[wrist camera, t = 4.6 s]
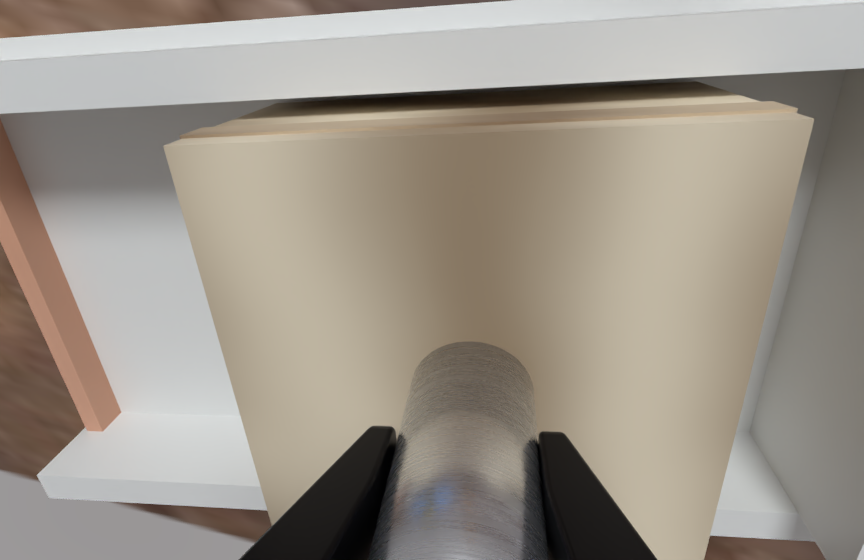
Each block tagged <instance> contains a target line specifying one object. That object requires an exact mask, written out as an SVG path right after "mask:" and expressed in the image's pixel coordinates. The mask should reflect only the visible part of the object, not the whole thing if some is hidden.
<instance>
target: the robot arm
mask: <svg viewBox="0 0 864 560" xmlns="http://www.w3.org/2000/svg"><path fill="white" fill-rule="evenodd" d="M396 443H397V438H396V431H395V429H394V428H393V427H392V426H371V427H369V428H368V429H367V430H366V431H365V432H364V433H363V434H362V435H361V436H360V437H359V438H358V439H357V440H356V441H355V442H354V443H353V444H352V445H351V446H350V447H349V448H348V449H347V450H346V451H345V452H344V453H343V454H342V456H341V457H340V458H339V459H338V460H337V461H336V462H335V463H334V464H333V465H332V466H331V467H330V468H329V469H328V470H327V471H326V472H325V473H324V474H323V475H322V476H321V477H320V478H319V479H318V480H317V481H316V482H315V483H314V484H313V485H312V486H311V487H310V488H309V489H308V490H307V491H306V492H305V493H304V494H303V495H302V496H301V497H300V498H299V499H298V500H297V501H296V502H295V503H294V504H293V505H292V506H291V507H290V508H289V509H288V510H287V511H286V512H285V513H284V514H283V515H282V516H281V517H280V518H279V519H278V520H277V521H276V522H275V523H274V524H273V525H272V526H271V527H270V528H269V529H268V530H267V532H266V533H265V534H264V535H263V536H262V537H261V538H260V539H259V540H258V541H257V542H256V543H255V544H254V545H253V546H252V547H251V548H250V549H249V550H248V551H247V552H246V553H245V554H244V555H243V556H242V557H241V558H240V559H239V560H368V557H369V553H370V549H371V545H372V541H373V537H374V533H375V529H376V524H377V520H378V516H379V512H380V508H381V504H382V500H383V496H384V492H385V488H386V484H387V480H388V476H389V471H390V467H391V463H392V459H393V455H394V451H395V447H396ZM538 449H539V461H540V472H541V484H542V495H543V506H544V516H545V524H546V534H547V546H548V557H549V560H657V558H656V557H655V555H654V554H653V553H652V551H651V550H650V549H649V547H648V546H647V545H646V543H645V542H644V540H643V539H642V538H641V536H640V535H639V534H638V532H637V531H636V530H635V528H634V527H633V525H632V524H631V523H630V521H629V520H628V519H627V517H626V516H625V515H624V513H623V512H622V511H621V509H620V508H619V506H618V505H617V504H616V502H615V501H614V500H613V498H612V497H611V496H610V494H609V493H608V491H607V490H606V489H605V487H604V486H603V485H602V483H601V482H600V481H599V479H598V478H597V476H596V475H595V474H594V472H593V471H592V470H591V468H590V467H589V466H588V464H587V463H586V461H585V460H584V459H583V457H582V456H581V455H580V453H579V452H578V451H577V449H576V448H575V446H574V445H573V444H572V442H571V441H570V440H569V438H568V437H567V436H566V434H564V433H563V432H552V431H542V432H540V433H539V436H538Z"/></svg>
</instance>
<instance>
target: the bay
mask: <svg viewBox="0 0 864 560" xmlns="http://www.w3.org/2000/svg"><path fill="white" fill-rule="evenodd" d="M693 81H697V82H701V83H704V84H707V85H710V86H713V87H716V88H719V89H723V90H726V91H729V92H732V93H735V94H738V95H741V96H745V97H748V98H751V99H754V100H757V101H760V102H765V101H775V102H778V103H781V104H785V105H788V106H791V107H795V108H798V110H797V113H798V114H801V115H804V116H807V117H810V118H814V123H813V127H812V131H811V135H810V139H809V143H808V147H807V151H806V155H805V159H804V163H803V167H802V171H801V175H800V179H799V183H798V187H797V191H796V195H795V199H794V203H793V207H792V211H791V215H790V219H789V223H788V227H787V231H786V235H785V239H784V243H783V247H782V251H781V255H780V258H779V262H778V266H777V270H776V274H775V278H774V282H773V286H772V290H771V294H770V298H769V302H768V306H767V310H766V314H765V318H764V322H763V326H762V330H761V334H760V338H759V342H758V346H757V350H756V354H755V358H754V362H753V366H752V370H751V374H750V378H749V382H748V386H747V390H746V394H745V398H744V402H743V406H742V410H741V414H740V418H739V422H738V426H737V430H736V434H735V438H734V442H733V446H732V450H731V454H730V458H729V462H728V466H727V470H726V473H725V477H724V481H723V485H722V489H721V493H720V497H719V501H718V505H717V509H716V513H715V517H714V521H713V525H712V529H711V533H710V535H711V536H729V537H746V538H764V539H782V540H799V541H815V542H816V543H817V545H818V547H819V548H820V550H821V552H822V553H823V555H824V557H825V558H826V560H864V0H513V1H499V2H486V3H472V4H459V5H445V6H432V7H418V8H405V9H392V10H378V11H365V12H351V13H338V14H324V15H311V16H297V17H284V18H270V19H257V20H244V21H230V22H217V23H203V24H190V25H176V26H163V27H149V28H136V29H122V30H109V31H96V32H82V33H69V34H55V35H42V36H28V37H15V38H1V39H0V242H1V244H2V246H3V248H4V251H5V253H6V255H7V257H8V259H9V262H10V264H11V266H12V268H13V270H14V272H15V275H16V277H17V279H18V281H19V283H20V286H21V288H22V290H23V292H24V294H25V296H26V299H27V301H28V303H29V305H30V307H31V309H32V312H33V314H34V316H35V318H36V320H37V323H38V325H39V327H40V329H41V331H42V333H43V336H44V338H45V340H46V342H47V344H48V347H49V349H50V351H51V353H52V355H53V357H54V360H55V362H56V364H57V366H58V368H59V371H60V373H61V375H62V377H63V379H64V381H65V384H66V386H67V388H68V390H69V392H70V395H71V397H72V399H73V401H74V403H75V405H76V408H77V410H78V412H79V414H80V416H81V419H82V421H83V423H84V425H85V428H84V429H83V430H82V431H81V432H80V433H79V434H78V435H77V436H76V437H75V438H74V439H73V440H72V441H71V442H70V443H69V444H68V445H67V446H66V447H65V448H64V449H63V450H62V451H61V452H60V453H59V454H58V455H57V456H56V457H55V458H54V459H53V460H52V461H51V462H50V463H49V464H48V465H47V466H46V467H45V468H44V469H43V470H42V471H41V472H40V473H39V474H38V475H37V477H38V479H39V480H40V482H41V484H42V486H43V488H44V490H45V491H46V493H47V495H48V497H49V498H59V499H76V500H93V501H111V502H128V503H146V504H164V505H181V506H199V507H217V508H234V509H252V510H267V507H266V504H265V500H264V497H263V493H262V490H261V486H260V483H259V479H258V476H257V472H256V469H255V465H254V462H253V458H252V455H251V451H250V448H249V444H248V441H247V437H246V434H245V430H244V427H243V423H242V420H241V416H240V413H239V409H238V406H237V402H236V399H235V395H234V392H233V388H232V385H231V381H230V378H229V374H228V371H227V367H226V364H225V360H224V357H223V353H222V350H221V346H220V343H219V339H218V336H217V332H216V329H215V325H214V322H213V318H212V315H211V311H210V308H209V304H208V301H207V297H206V294H205V290H204V287H203V283H202V280H201V276H200V273H199V270H198V266H197V263H196V259H195V256H194V252H193V249H192V245H191V242H190V238H189V235H188V231H187V228H186V224H185V221H184V217H183V214H182V210H181V207H180V203H179V200H178V196H177V193H176V189H175V186H174V182H173V179H172V175H171V172H170V168H169V165H168V161H167V158H166V154H165V151H164V147H163V146H164V145H167V144H170V143H172V142H175V141H177V140H180V137H179V136H180V135H183V134H186V133H188V132H191V131H194V130H197V129H199V128H202V127H215V126H217V125H220V124H223V123H225V122H228V121H231V120H233V119H236V118H239V117H241V116H244V115H246V114H249V113H252V112H254V111H257V110H260V109H262V108H265V107H268V106H270V105H273V104H276V103H287V102H307V101H326V100H345V99H365V98H384V97H403V96H423V95H442V94H461V93H481V92H500V91H519V90H539V89H558V88H577V87H597V86H616V85H635V84H655V83H674V82H693Z"/></svg>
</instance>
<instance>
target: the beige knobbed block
mask: <svg viewBox="0 0 864 560" xmlns="http://www.w3.org/2000/svg"><path fill="white" fill-rule="evenodd" d="M797 110H798V108H795V107H791V106H788V105H785V104H781V103H778V102H775V101H765V102H760V101H757V100H754V99H751V98H748V97H745V96H741V95H738V94H735V93H732V92H729V91H726V90H723V89H719V88H716V87H713V86H710V85H707V84H704V83H701V82H697V81H693V82H674V83H655V84H635V85H616V86H597V87H577V88H558V89H539V90H519V91H500V92H481V93H461V94H442V95H423V96H403V97H384V98H365V99H345V100H326V101H307V102H287V103H276V104H273V105H270V106H268V107H265V108H262V109H260V110H257V111H254V112H252V113H249V114H246V115H244V116H241V117H239V118H236V119H233V120H231V121H228V122H225V123H223V124H220V125H217V126H215V127H202V128H199V129H197V130H194V131H191V132H188V133H186V134H183V135H180V136H179V137H180V140H177V141H175V142H172V143H170V144H167V145H164V146H163V147H164V151H165V154H166V158H167V161H168V165H169V168H170V172H171V175H172V179H173V182H174V186H175V189H176V193H177V196H178V200H179V203H180V207H181V210H182V214H183V217H184V221H185V224H186V228H187V231H188V235H189V238H190V242H191V245H192V249H193V252H194V256H195V259H196V263H197V266H198V270H199V273H200V276H201V280H202V283H203V287H204V290H205V294H206V297H207V301H208V304H209V308H210V311H211V315H212V318H213V322H214V325H215V329H216V332H217V336H218V339H219V343H220V346H221V350H222V353H223V357H224V360H225V364H226V367H227V371H228V374H229V378H230V381H231V385H232V388H233V392H234V395H235V399H236V402H237V406H238V409H239V413H240V416H241V420H242V423H243V427H244V430H245V434H246V437H247V441H248V444H249V448H250V451H251V455H252V458H253V462H254V465H255V469H256V472H257V476H258V479H259V483H260V486H261V490H262V493H263V497H264V500H265V504H266V507H267V510H268V514H269V517H270V521H271V524H272V525H273V524H274V523H275V522H276V521H277V520H278V519H279V518H280V517H281V516H282V515H283V514H284V513H285V512H286V511H287V510H288V509H289V508H290V507H291V506H292V505H293V504H294V503H295V502H296V501H297V500H298V499H299V498H300V497H301V496H302V495H303V494H304V493H305V492H306V491H307V490H308V489H309V488H310V487H311V486H312V485H313V484H314V483H315V482H316V481H317V480H318V479H319V478H320V477H321V476H322V475H323V474H324V473H325V472H326V471H327V470H328V469H329V468H330V467H331V466H332V465H333V464H334V463H335V462H336V461H337V460H338V459H339V458H340V457H341V456H342V454H343V453H344V452H345V451H346V450H347V449H348V448H349V447H350V446H351V445H352V444H353V443H354V442H355V441H356V440H357V439H358V438H359V437H360V436H361V435H362V434H363V433H364V432H365V431H366V430H367V429H368V428H369V427H371V426H392V427H393V428H394V429H395V431H396V438H397V443H396V447H395V451H394V455H393V459H392V463H391V467H390V471H389V476H388V480H387V484H386V488H385V492H384V496H383V500H382V504H381V508H380V512H379V516H378V520H377V524H376V529H375V533H374V537H373V541H372V545H371V549H370V553H369V557H368V560H549V557H548V546H547V534H546V524H545V516H544V506H543V495H542V484H541V472H540V461H539V449H538V436H539V433H540V432H542V431H552V432H563V433H564V434H566V436H567V437H568V438H569V440H570V441H571V442H572V444H573V445H574V446H575V448H576V449H577V451H578V452H579V453H580V455H581V456H582V457H583V459H584V460H585V461H586V463H587V464H588V466H589V467H590V468H591V470H592V471H593V472H594V474H595V475H596V476H597V478H598V479H599V481H600V482H601V483H602V485H603V486H604V487H605V489H606V490H607V491H608V493H609V494H610V496H611V497H612V498H613V500H614V501H615V502H616V504H617V505H618V506H619V508H620V509H621V511H622V512H623V513H624V515H625V516H626V517H627V519H628V520H629V521H630V523H631V524H632V525H633V527H634V528H635V530H636V531H637V532H638V534H639V535H640V536H641V538H642V539H643V540H644V542H645V543H646V545H647V546H648V547H649V549H650V550H651V551H652V553H653V554H654V555H655V557H656V558H657V560H704V557H705V553H706V549H707V545H708V541H709V537H710V533H711V529H712V525H713V521H714V517H715V513H716V509H717V505H718V501H719V497H720V493H721V489H722V485H723V481H724V477H725V473H726V470H727V466H728V462H729V458H730V454H731V450H732V446H733V442H734V438H735V434H736V430H737V426H738V422H739V418H740V414H741V410H742V406H743V402H744V398H745V394H746V390H747V386H748V382H749V378H750V374H751V370H752V366H753V362H754V358H755V354H756V350H757V346H758V342H759V338H760V334H761V330H762V326H763V322H764V318H765V314H766V310H767V306H768V302H769V298H770V294H771V290H772V286H773V282H774V278H775V274H776V270H777V266H778V262H779V258H780V255H781V251H782V247H783V243H784V239H785V235H786V231H787V227H788V223H789V219H790V215H791V211H792V207H793V203H794V199H795V195H796V191H797V187H798V183H799V179H800V175H801V171H802V167H803V163H804V159H805V155H806V151H807V147H808V143H809V139H810V135H811V131H812V127H813V123H814V118H810V117H807V116H804V115H801V114H798V113H797Z"/></svg>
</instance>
